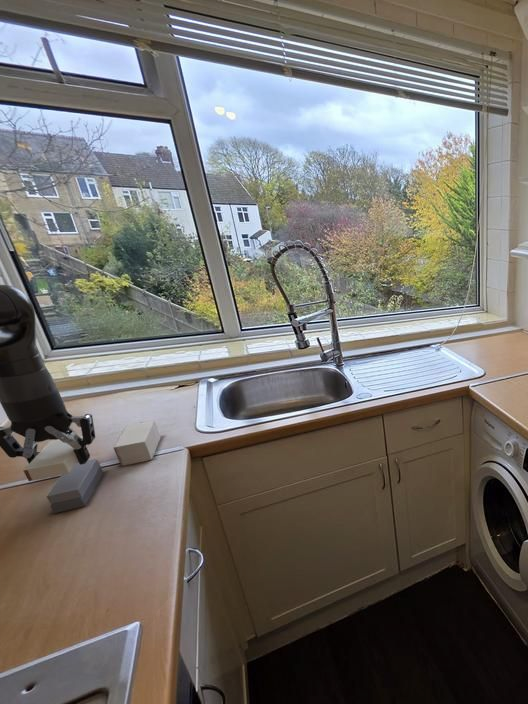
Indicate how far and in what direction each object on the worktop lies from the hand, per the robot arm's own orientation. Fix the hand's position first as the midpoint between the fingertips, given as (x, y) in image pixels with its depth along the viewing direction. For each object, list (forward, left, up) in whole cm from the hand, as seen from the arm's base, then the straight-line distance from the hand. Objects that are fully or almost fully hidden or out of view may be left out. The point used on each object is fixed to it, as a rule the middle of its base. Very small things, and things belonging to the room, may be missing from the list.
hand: (63, 466), depth 84 cm
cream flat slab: (0, 0, +1) cm, 1 cm away
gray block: (0, +1, -7) cm, 7 cm away
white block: (+8, +14, -7) cm, 18 cm away
